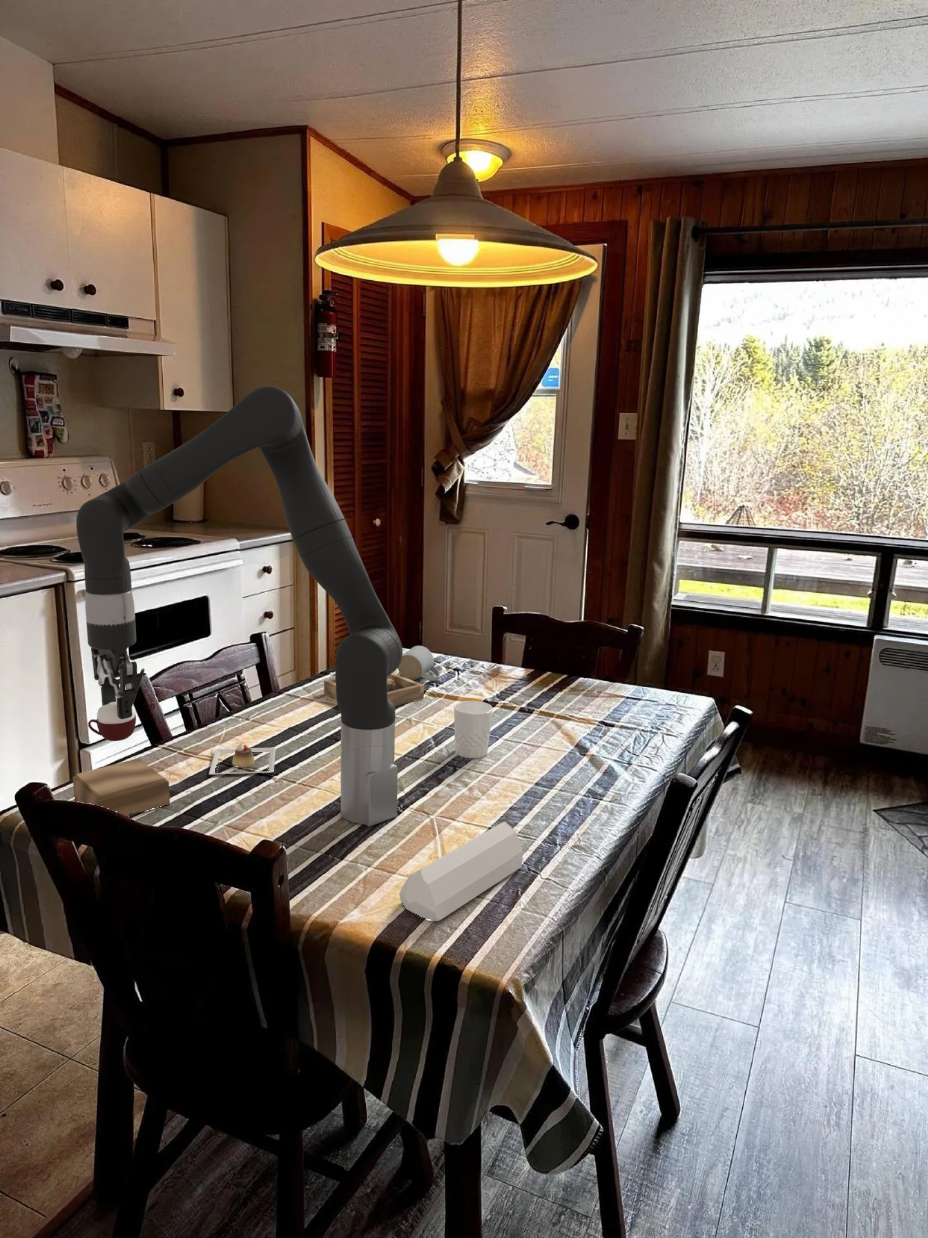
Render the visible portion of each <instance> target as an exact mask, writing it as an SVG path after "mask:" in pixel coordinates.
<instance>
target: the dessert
mask: <svg viewBox="0 0 928 1238" xmlns="http://www.w3.org/2000/svg"><path fill="white" fill-rule="evenodd" d="M276 750H277V748H276V747H252V748H251V747H249V746H248V745H246V744H245V743H243V742H242V743H240V744H238V745H237V747H236V748H227V749H226V748H223V749H222V748H221V749H220V748H219V749H215V750H214V753H213V757H212V761H211V765H210V767H209V772H208V775H209V776H226V775H225V774H235V775H256V774H255V773H262V774H271V773H274V771H275V770H274V769H275V761H276V760H275V759H276V752H277V751H276ZM234 752H235V754H233V758H232V761H231V765H232V764H233V765H235V766H238V767H245V768H248V767H247V766H250V765H252V766H254V765H255V764H256V760H255V757H254V753H252V752H270V755H269V754H268V760H269V761H270V762H269V764H268V763H267V769H268V767H269V769H268V770H269V771H267V770H266V771H241V772H239V771H238V772H217V773H215V768H216V767H217V766H216V765H217V763H218V759H219V757H220V754H221V755H228V754H227V753H234ZM223 753H224V754H223ZM225 753H226V754H225ZM269 756H270V758H269ZM254 763H255V764H254ZM253 764H254V765H253ZM233 765H232V766H233ZM268 765H269V766H268ZM238 767H237V768H238ZM250 767H251V766H250Z"/></svg>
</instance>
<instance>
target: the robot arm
mask: <svg viewBox="0 0 928 1238" xmlns="http://www.w3.org/2000/svg"><path fill="white" fill-rule="evenodd" d="M307 436H308V435H307V432H306V429H305V425H304V421H303V417H302V413H301V411H300V409H299V407H298V405H297V404H296V402H295V400H294V399H293V398H292V396H290V394H289V393H288V392H286V391H285V390H284V389H282V388H279V387H277V386H273V385H262V386H259V387H256V388H254V390H252V391H251V392H249V393H248V394H247V395H246V396H244V397H243V398H242V399H241V400H240V401H238V403H236V404H235V405H234V406H233V407H232V408H230V409H229V410H228V411H227V412H226V413H224V415H223V416H221V417H220V418H219V419H217V420H215V422H213V423H212V424H211V425H209V426H208V427H207V428H205V429H204V430H202V431H201V432H200V433H198V434H197V435H195V436H194V437H193V438H191V439H189V440H187V441H186V442H184V443H183V444H182V445H180V446H178V447H176V448H175V449H173V450H171V451H169V452H167V453H166V454H164V455H162V456H161V457H160V458H157V459H156V460H155V461H153V462H152V463H150V464H148V465H146V466H145V467H143V468H141V469H139V470H138V471H136V472H135V473H134V474H132V475H131V476H130V477H129V478H128V479H127V480H126V481H123V482H122V483H119V484H117V485H116V486H114V487H112V488H111V489H109V490H106V491H105V492H103V493H101V494H99V495H98V496H96V497H94V498H91V499H89V500H87V501H86V502H84V503H83V504H82V505H81V506H80V507H79V509H78V511H77V515H76V521H75V522H76V535H77V541H78V545H79V549H80V553H81V557H82V560H83V564H84V568H83V570H84V584H85V585H84V586H85V601H84V603H85V604H84V609H85V622H86V638H87V644H88V646H89V647H90V652H91V659H92V661H91V662H92V668H93V678H94V681H97V684H98V686H99V687H100V695H101V705H102V706H104V705H107V704H109V703H111V702H117V715H118V718H120V719H125V718H130V717H131V716H132V702H131V698H132V696H133V695H136V696H137V695H138V691H137V680H138V664H137V662H136V661H131V659H130V656H129V655H128V651H127V650H128V648H130V647H132V646H133V645H135V644H136V642H137V631H136V630H137V628H136V627H137V626H136V613H135V612H136V610H135V600H134V597H133V589H132V588H133V587H132V575H131V574H132V573H131V571H132V570H131V566H130V565H131V564H130V561H129V559H128V558H127V557H126V553H125V542H124V533H126V532H127V531H129V530H130V529H131V528H133V527H134V526H136V525H137V524H139V523H141V521H143V520H144V519H146V518H148V517H149V516H151V515H152V514H156V513H158V512H161V511H163V510H164V509H166V508H167V507H169V506H171V505H172V504H174V503H176V502H177V501H179V500H181V499H182V498H184V497H185V496H187V495H190V493H191V492H193V491H195V490H196V489H197V488H199V487H200V486H201V485H202V484H204V483H205V482H206V481H207V480H208V479H209V478H210V477H211V476H212V475H214V474H215V473H216V472H217V471H219V470H220V469H221V468H222V467H224V466H226V465H227V464H228V463H229V462H231V461H233V460H235V459H236V458H238V457H239V456H241V455H244V454H245V453H248V452H251V451H253V450H255V449H258V448H259V450H260V452H261V453H262V456H263V457H264V459H265V460H266V463H267V465H268V467H269V469H270V471H271V472H272V475H273V477H274V479H275V481H276V484H277V487H278V491H279V495H280V499H281V504H282V509H283V513H284V516H285V521H286V523H287V527H288V529H289V532H290V535H291V538H292V540H293V544H294V545H295V548H296V550H297V553H298V555H299V557H300V560H301V562H302V563H303V566H304V567H305V569H306V570H307V572H308V573H309V574H310V576H311V577H312V578H313V579H314V581H316V582H317V583H318V584H319V586H320V587H321V588H322V589H323V590H324V591H325V592H326V593H327V594H328V595H329V597H331V598H332V600H333V601H334V603H335V604H336V606H337V607H338V608H339V611H340V612H341V615H342V617H343V619H344V622H345V624H346V627H347V629H348V632H349V635H348V636H346V637H344V639H343V640H341V642H340V643H339V644H338V647H337V649H336V653H335V660H334V661H335V662H334V664H335V665H334V672H335V673H334V674H335V677H334V678H335V679H336V699H337V700H336V699H335V700H336V704H337V707H338V709H339V711H340V712H339V713H340V815H341V817H343V819H344V820H346V821H348V822H351V823H354V824H360V825H365V826H367V827H372V826H374V825H377V824H380V823H383V822H385V821H387V820H391V819H393V818H396V817H397V816H398V779H399V778H398V777H399V776H398V772H399V771H398V770H399V768H398V765H396V764H395V755H396V754H395V752H396V751H395V750H396V747H395V746H396V744H395V741H396V738H395V737H396V706H394V704H393V703H392V702H391V701H390V700H388V699H387V677H388V676H389V675H390V674H392V673H395V671H397V670H398V667H399V665H400V663H401V661H402V656H403V655H404V654H403V652H404V651H403V645H402V642H401V639H400V637H399V635H398V633H397V631H396V629H395V627H394V625H393V623H392V622H391V619H390V618H389V616H388V614H387V612H386V610H385V609H384V607H383V605H382V603H381V601H380V599H379V598H378V595H377V594H376V591H375V589H374V587H373V584H372V583H371V579H370V578H369V574H368V572H367V569H366V568H365V564H364V563H363V560H362V558H361V556H360V553H359V551H358V549H357V546H356V543H355V540H354V538H353V535H352V533H351V531H350V528H349V526H348V524H347V520H346V519H345V517H344V515H343V512H342V511H341V509H340V505H339V504H338V502H337V500H336V498H335V496H334V494H333V492H332V490H331V489H330V487H329V485H328V484H327V482H326V480H325V478H324V477H323V475H322V473H321V472H320V469H319V467H318V465H317V463H316V460H315V458H314V456H313V452H312V449H311V445H310V443H309V440H308V437H307ZM102 706H101V707H102Z"/></svg>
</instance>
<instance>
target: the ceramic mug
mask: <svg viewBox="0 0 928 1238" xmlns="http://www.w3.org/2000/svg"><path fill="white" fill-rule="evenodd" d="M434 664H435V658H434V655H433V654H432V651H430V649H428V648H427V647H426V646H423V645H415V646H413V647H411V648H410V649H408V651H406V653H404V654H403V656H402V661H401V663H400V665H399V667H398V668H397V670H398V672H399V675H400V676H402V677H405V678H407V679H410V680H412V681H414V680H417V679H419V678H423V679H424V680H426V681H429V682H436V681H438V680H439V678H440V676H441V673H440V670H439V669H437V667H436V666H435V665H434ZM430 671H431V673H433V674H434V675H435V676H434V675H433V676H432V675H430V674H428V673H429V672H430Z"/></svg>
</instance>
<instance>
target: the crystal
mask: <svg viewBox="0 0 928 1238" xmlns="http://www.w3.org/2000/svg"><path fill="white" fill-rule="evenodd" d="M523 856H524V850H523V846H522V845H521V842H520V838H519V836H518V834H517V831H515V829H514V828H513V827H512V826H511V825H510V824H508V823H507V822H506V821H504V820H503V822H500V823H498V824H497V825H495V826H494V827H492V828H490V829H488V830H485V832H483V833H481V834H479V835H477V836H476V837H475V838H472V839H471V840H469V841H468V842H466V843H464V844H462V845H460V846H459V847H457V848H455V849H453V850H451V851H450V852H448V853H446V854H444V855H443V856H441V857H439V858H437V859H436V860H434V861H432V862H430V863H429V864H427V865H425V866H423V867H421V868H420V869H418V870H416V871H415V872H412V874H411V873H410V875H409V876H408V877H407V879H406V880H405V882H404V883H403V885H402V886H401V888H400V891H399V893H398V894H399V901H400V903H401V902H402V903H403V904H402V903H401V904H402V906H403V905H404V906H405V908H406V910H407V911H409V912H411V913H413V914H414V913H415V914H414V915H416V914H417V915H416V916H418V915H419V916H418V917H420V918H422V917H423V918H427V919H431V920H434V921H433V922H439V921H441V920H442V919H444V918H445V917H447V916H449V915H450V914H452V913H454V912H455V911H456V910H458V909H459V908H461V907H462V906H464V905H465V904H467V903H469V902H471V900H473V899H475V898H476V897H477V896H479V895H480V894H482V893H484V892H485V891H487V890H489V889H490V888H491V887H493V886H495V885H496V884H497V883H499V882H501V881H502V880H503V879H505V878H506V877H508V876H510V875H511V874H513V873H515V872H516V871H517V870H519V869H520V868H522V866H523ZM404 906H403V907H404ZM405 908H404V909H405ZM423 918H422V919H423Z"/></svg>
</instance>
